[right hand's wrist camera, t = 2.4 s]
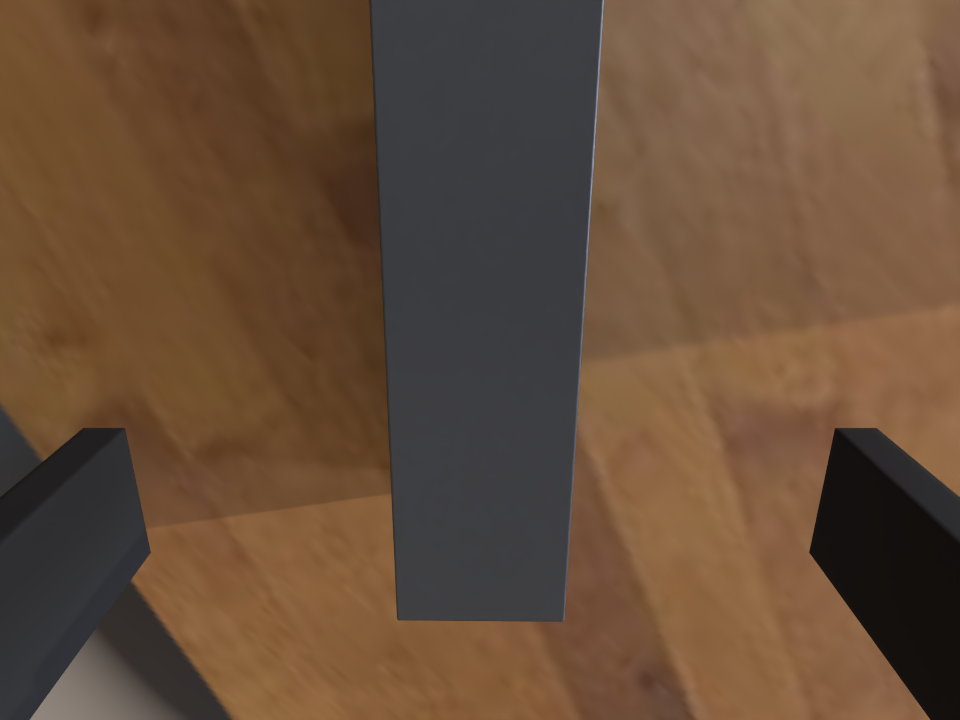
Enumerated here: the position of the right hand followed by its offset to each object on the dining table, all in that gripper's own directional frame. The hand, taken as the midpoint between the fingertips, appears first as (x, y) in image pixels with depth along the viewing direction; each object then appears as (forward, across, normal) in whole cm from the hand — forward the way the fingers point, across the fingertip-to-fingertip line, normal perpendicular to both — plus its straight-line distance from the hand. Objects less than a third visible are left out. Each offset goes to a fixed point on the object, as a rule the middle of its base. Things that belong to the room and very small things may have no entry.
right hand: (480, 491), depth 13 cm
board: (+13, 0, -19) cm, 23 cm away
